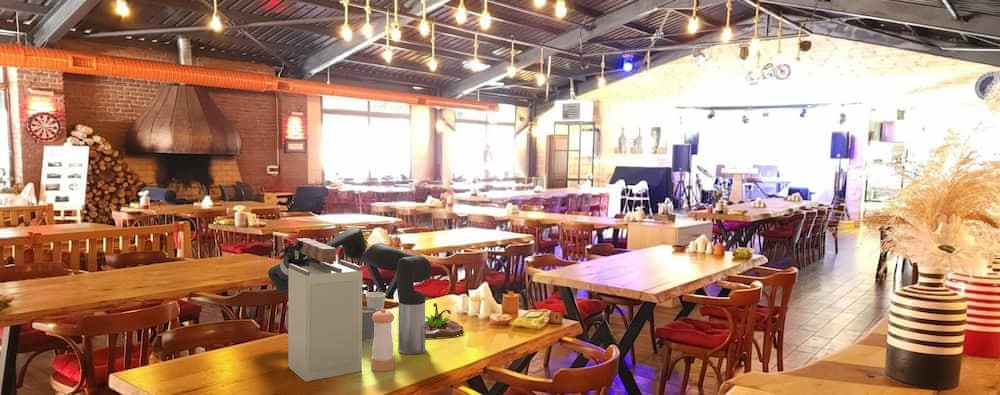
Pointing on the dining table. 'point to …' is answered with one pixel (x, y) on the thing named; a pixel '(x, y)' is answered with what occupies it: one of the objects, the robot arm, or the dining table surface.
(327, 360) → the cabinet
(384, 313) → the pepper shaker
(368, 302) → the dixie cup
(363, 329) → the coffee mug
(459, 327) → the plant
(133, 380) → the dining table surface
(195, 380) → the dining table surface
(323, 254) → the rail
